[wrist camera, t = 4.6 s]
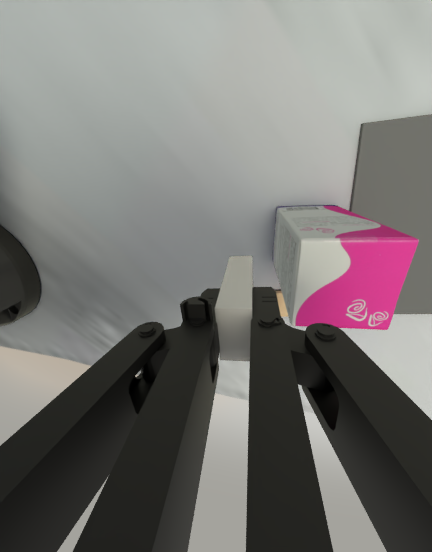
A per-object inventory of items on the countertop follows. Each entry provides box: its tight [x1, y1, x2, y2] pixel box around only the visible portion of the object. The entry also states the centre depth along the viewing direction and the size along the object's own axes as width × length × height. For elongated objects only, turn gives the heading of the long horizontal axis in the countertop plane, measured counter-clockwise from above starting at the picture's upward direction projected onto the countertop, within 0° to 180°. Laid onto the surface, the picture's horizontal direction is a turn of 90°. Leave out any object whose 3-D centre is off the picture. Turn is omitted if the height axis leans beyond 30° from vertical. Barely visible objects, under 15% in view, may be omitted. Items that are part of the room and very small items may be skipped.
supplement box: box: [273, 205, 419, 330], centre depth 17 cm, size 6×6×12 cm
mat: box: [350, 114, 432, 314], centre depth 21 cm, size 13×18×1 cm
